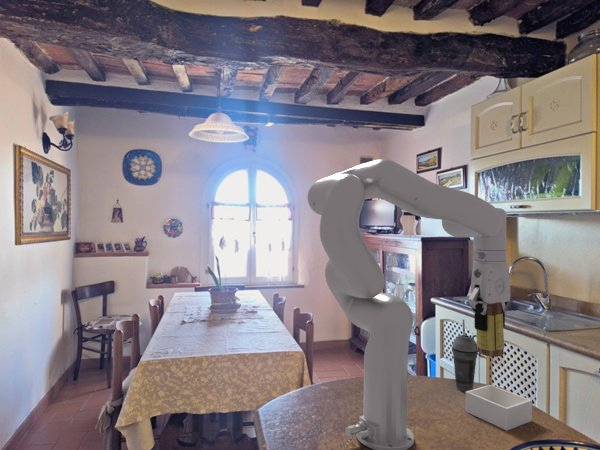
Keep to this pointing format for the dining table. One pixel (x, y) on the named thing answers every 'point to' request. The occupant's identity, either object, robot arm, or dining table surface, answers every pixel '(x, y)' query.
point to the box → (498, 406)
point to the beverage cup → (464, 361)
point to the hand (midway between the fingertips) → (489, 327)
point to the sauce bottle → (492, 332)
